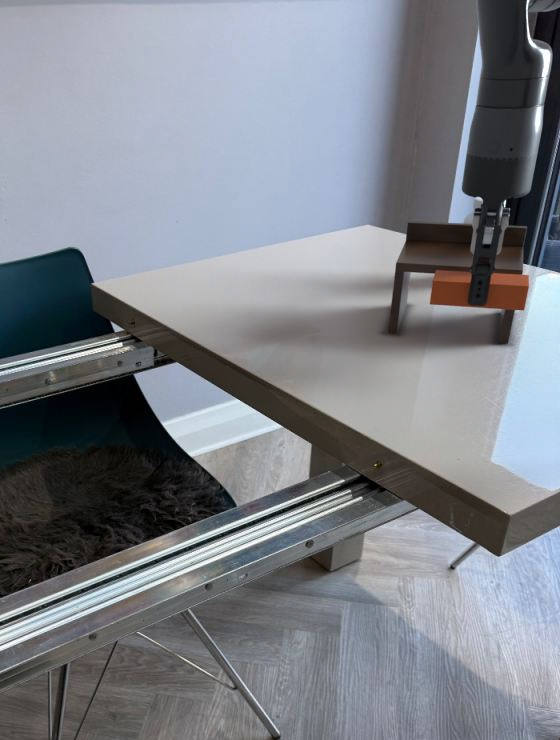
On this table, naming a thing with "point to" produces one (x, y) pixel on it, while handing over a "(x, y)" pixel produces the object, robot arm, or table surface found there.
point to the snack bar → (501, 295)
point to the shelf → (450, 261)
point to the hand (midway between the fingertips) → (477, 297)
